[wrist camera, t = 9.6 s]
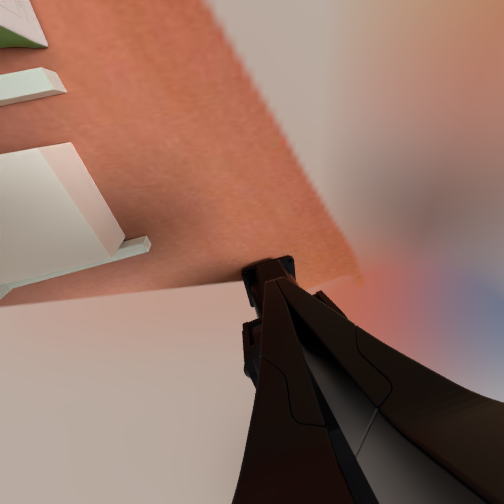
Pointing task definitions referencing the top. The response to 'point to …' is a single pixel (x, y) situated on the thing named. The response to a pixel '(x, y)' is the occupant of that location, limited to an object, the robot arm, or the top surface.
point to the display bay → (38, 86)
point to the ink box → (20, 25)
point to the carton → (51, 214)
